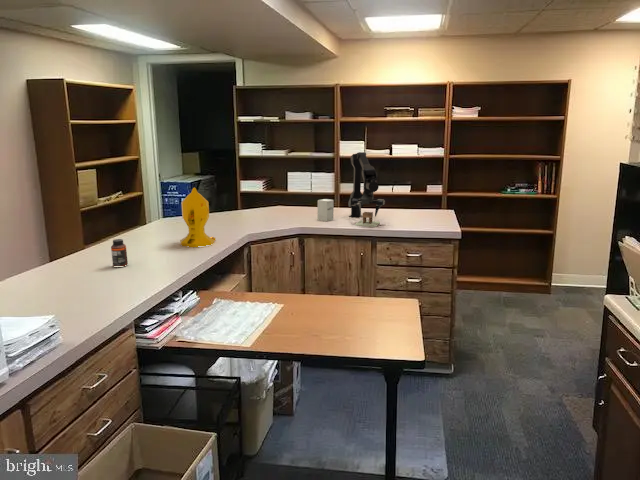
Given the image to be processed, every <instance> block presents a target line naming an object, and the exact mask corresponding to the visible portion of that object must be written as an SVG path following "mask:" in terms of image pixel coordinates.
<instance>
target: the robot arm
mask: <svg viewBox="0 0 640 480" xmlns="http://www.w3.org/2000/svg"><path fill="white" fill-rule="evenodd" d="M350 164H351V165H352V167H353V187H352V188H353V189H352V192H351V193H350V197H349V200H348V204H347V205H348V207H349V208H350V214H349V218H350V217H353V218H355V217H356V218H360V217H361V216H362V208H363V207H364V205H370V204H376V205H375V212H374V217H377V215H378V213H379V210H380V209H381V207H383V206H384V205H385V204H386V200H385V199H384V198H383V199H382V198H378V199H376V200H374V193H375V192H377V191H378V190H379V184H378V183H377V182H376V181H378V173H377V172H376V169H375V167H374V166H373V165H371V164H370V162H369V160H368V157H367V153H366V152H365V151H364V152H363V151H360V152H357V153H353V154H352V155H350ZM362 179H363V192H361V187H362V186H361V185H362Z"/></svg>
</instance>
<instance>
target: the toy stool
mask: <svg viewBox="0 0 640 480" xmlns="http://www.w3.org/2000/svg"><path fill="white" fill-rule="evenodd" d="M373 214H374V212H373V211H372V212H371V211H364V212H362V220H363V223H365V222H366V221H367V219H368V221H369V224H371V223H372V221H373V216H374V215H373Z"/></svg>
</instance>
